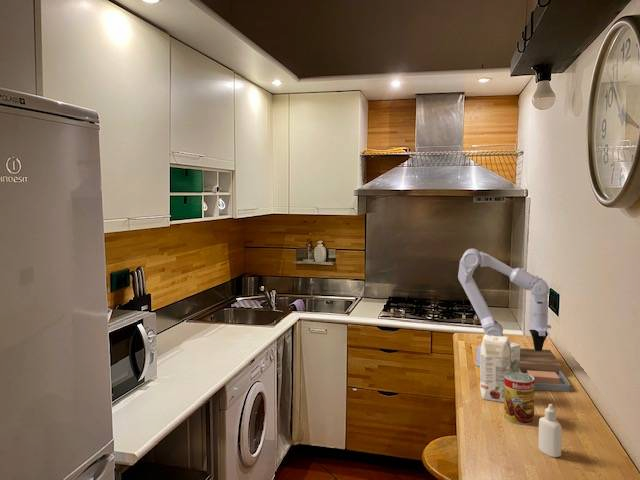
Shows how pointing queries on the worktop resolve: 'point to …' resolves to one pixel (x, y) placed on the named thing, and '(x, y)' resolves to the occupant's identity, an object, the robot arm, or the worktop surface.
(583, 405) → the worktop surface
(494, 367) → the juice carton
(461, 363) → the worktop surface
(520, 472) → the worktop surface
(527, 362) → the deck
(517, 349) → the syrup box
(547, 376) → the tile
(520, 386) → the canned food
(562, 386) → the tray
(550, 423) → the eye dropper bottle
